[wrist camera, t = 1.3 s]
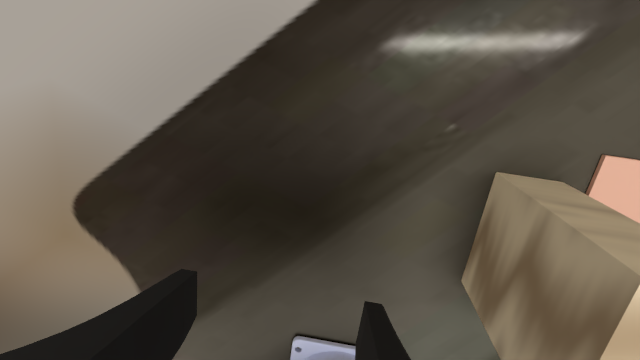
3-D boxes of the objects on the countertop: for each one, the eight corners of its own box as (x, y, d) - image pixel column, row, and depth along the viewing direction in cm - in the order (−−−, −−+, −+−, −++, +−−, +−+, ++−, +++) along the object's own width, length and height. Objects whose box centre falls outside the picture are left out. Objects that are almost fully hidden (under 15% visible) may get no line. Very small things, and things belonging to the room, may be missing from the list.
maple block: (519, 290, 23) (658, 476, 12) (461, 281, 23) (549, 455, 13) (562, 182, 20) (783, 301, 10) (496, 171, 20) (643, 277, 10)
